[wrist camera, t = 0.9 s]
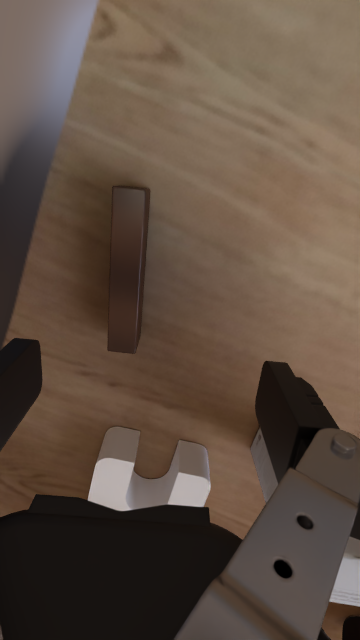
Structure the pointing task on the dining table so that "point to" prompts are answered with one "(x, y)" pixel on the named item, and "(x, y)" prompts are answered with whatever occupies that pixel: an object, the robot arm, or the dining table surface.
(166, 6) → the dining table surface
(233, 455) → the dining table surface
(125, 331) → the stick
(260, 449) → the cosmetic box
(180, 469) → the white slotted bracket
